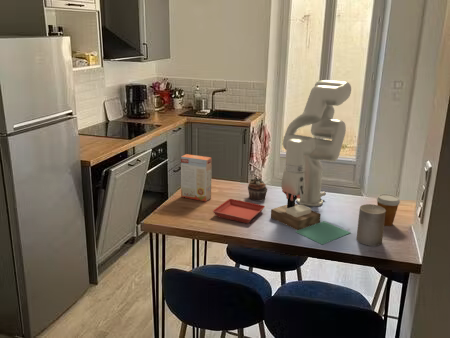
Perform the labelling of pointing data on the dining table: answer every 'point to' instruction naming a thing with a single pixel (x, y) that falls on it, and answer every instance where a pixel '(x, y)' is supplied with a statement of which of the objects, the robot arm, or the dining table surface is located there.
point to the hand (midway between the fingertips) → (290, 207)
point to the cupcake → (257, 189)
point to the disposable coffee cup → (388, 207)
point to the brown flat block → (295, 218)
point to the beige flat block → (298, 210)
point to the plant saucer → (238, 210)
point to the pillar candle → (371, 224)
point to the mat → (322, 232)
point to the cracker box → (196, 177)
